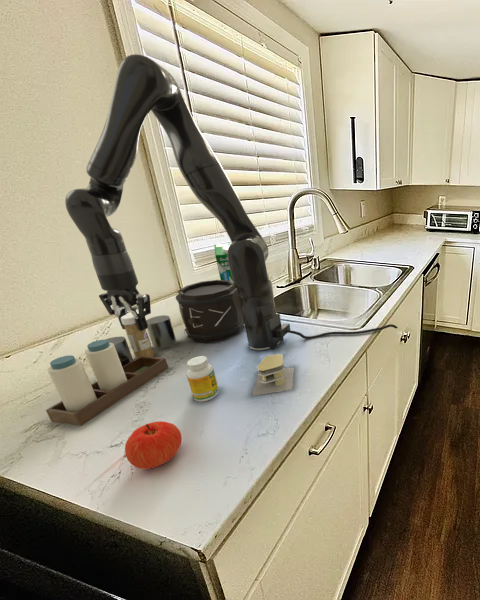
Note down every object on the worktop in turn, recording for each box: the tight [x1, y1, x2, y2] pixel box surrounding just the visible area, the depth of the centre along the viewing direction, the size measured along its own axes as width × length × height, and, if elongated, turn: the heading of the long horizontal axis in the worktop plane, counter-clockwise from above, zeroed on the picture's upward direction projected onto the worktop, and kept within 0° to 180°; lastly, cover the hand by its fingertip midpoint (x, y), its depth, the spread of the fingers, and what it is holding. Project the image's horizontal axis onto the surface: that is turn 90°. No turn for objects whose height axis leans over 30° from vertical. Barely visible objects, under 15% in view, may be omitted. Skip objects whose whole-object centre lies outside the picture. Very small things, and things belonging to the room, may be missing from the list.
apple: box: [124, 420, 183, 470], centre depth 59 cm, size 8×8×8 cm
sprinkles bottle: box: [121, 312, 155, 360], centre depth 91 cm, size 5×5×13 cm
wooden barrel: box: [175, 279, 245, 344], centre depth 106 cm, size 18×18×16 cm
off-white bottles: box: [47, 339, 127, 412], centre depth 73 cm, size 5×12×13 cm, turn 170°
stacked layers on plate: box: [252, 353, 295, 397], centre depth 81 cm, size 10×9×6 cm
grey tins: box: [104, 314, 178, 366], centre depth 92 cm, size 6×20×9 cm, turn 170°
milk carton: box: [213, 242, 233, 283], centre depth 123 cm, size 9×9×25 cm
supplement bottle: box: [186, 355, 220, 403], centre depth 76 cm, size 5×5×10 cm
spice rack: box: [45, 356, 169, 427], centre depth 78 cm, size 8×22×4 cm, turn 170°
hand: (135, 328), depth 90 cm, fingers closed on sprinkles bottle, 4 cm apart
